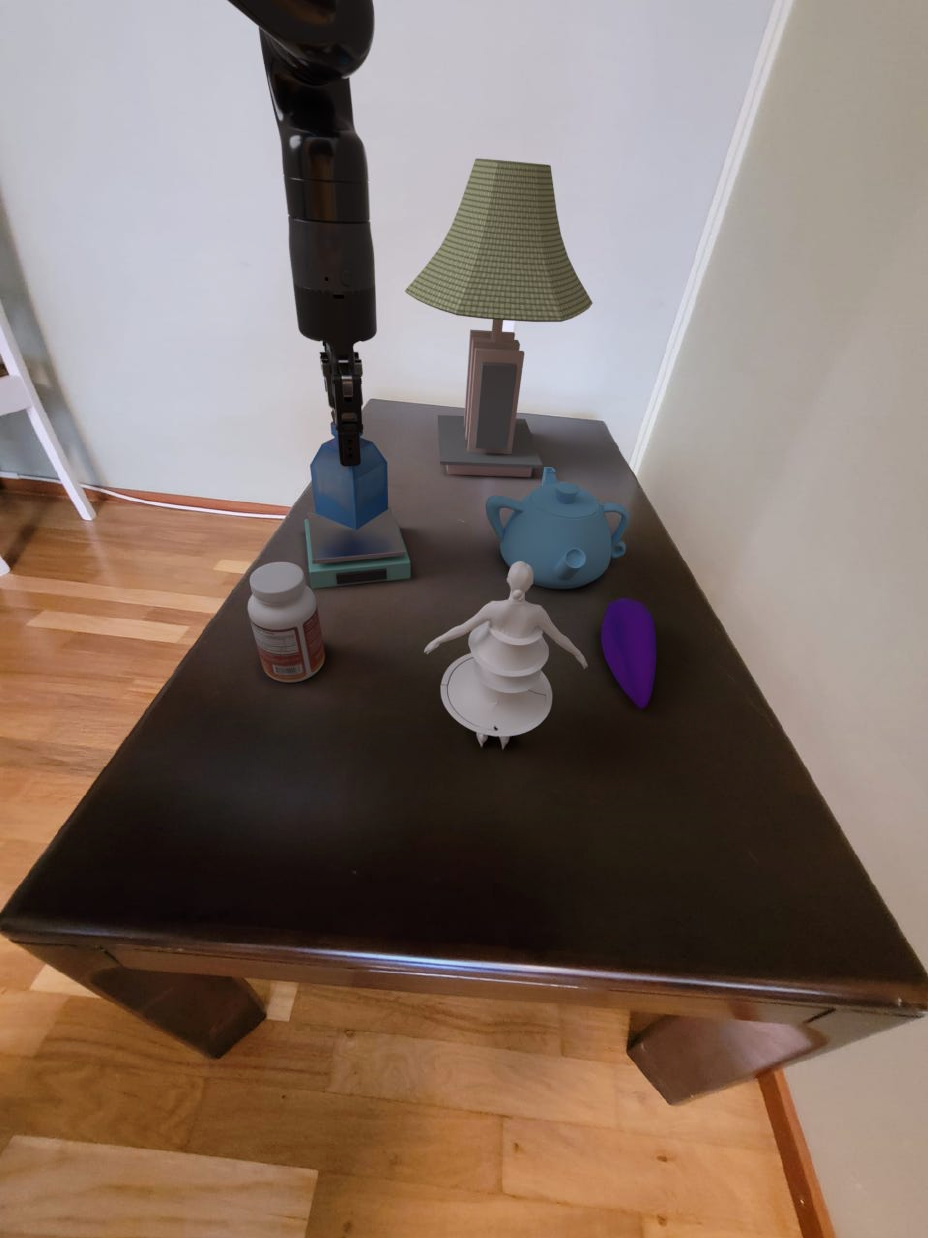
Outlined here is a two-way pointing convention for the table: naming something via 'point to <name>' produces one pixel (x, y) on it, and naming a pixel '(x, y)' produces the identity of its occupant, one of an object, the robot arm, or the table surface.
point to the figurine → (503, 664)
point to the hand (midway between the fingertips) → (347, 451)
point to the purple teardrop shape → (630, 648)
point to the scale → (357, 569)
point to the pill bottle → (285, 622)
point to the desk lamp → (499, 306)
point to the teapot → (558, 533)
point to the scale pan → (354, 539)
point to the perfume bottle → (349, 482)
